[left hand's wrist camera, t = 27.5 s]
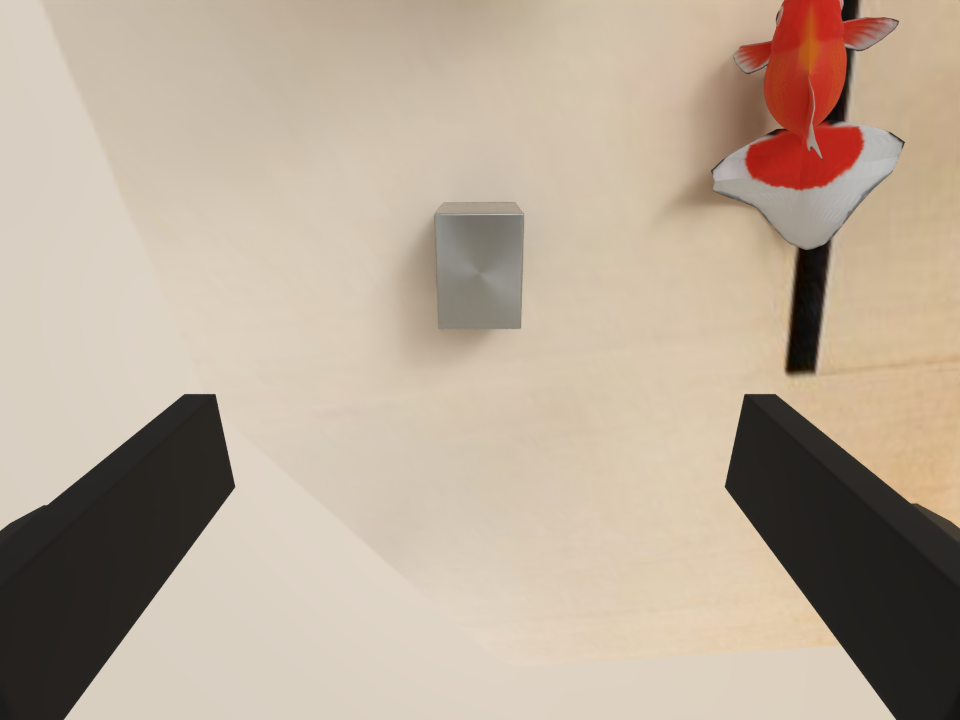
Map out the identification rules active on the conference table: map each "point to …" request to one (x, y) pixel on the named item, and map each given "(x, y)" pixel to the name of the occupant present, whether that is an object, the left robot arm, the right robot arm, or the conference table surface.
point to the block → (479, 265)
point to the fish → (809, 126)
